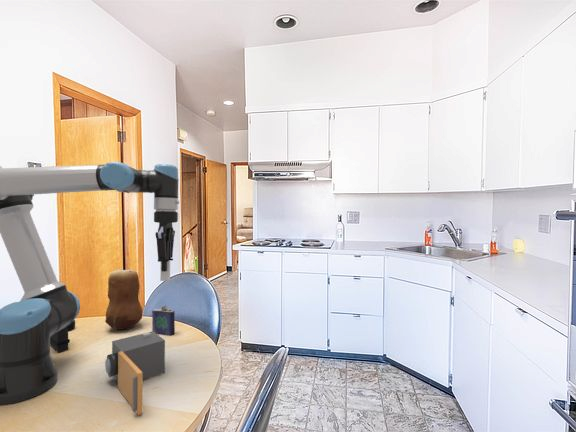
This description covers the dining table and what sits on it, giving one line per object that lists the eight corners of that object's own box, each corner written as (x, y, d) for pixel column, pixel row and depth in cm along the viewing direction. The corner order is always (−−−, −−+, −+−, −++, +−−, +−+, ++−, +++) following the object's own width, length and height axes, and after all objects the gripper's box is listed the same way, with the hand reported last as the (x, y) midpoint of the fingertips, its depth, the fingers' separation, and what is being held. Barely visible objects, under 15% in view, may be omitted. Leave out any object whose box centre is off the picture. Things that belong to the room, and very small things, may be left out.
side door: (114, 389, 85) (114, 352, 85) (121, 386, 86) (122, 350, 86) (134, 416, 73) (134, 375, 73) (142, 413, 75) (142, 372, 75)
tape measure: (65, 326, 133) (65, 317, 133) (79, 327, 131) (79, 319, 131) (50, 332, 126) (50, 323, 126) (65, 333, 125) (65, 324, 125)
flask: (150, 333, 125) (150, 305, 125) (155, 331, 128) (155, 303, 128) (172, 336, 123) (172, 307, 122) (176, 333, 126) (177, 305, 126)
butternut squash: (131, 320, 140) (131, 265, 140) (148, 326, 133) (148, 268, 132) (99, 329, 129) (99, 270, 128) (115, 337, 121) (115, 273, 121)
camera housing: (111, 391, 84) (112, 351, 84) (102, 376, 92) (102, 340, 92) (164, 372, 94) (164, 337, 94) (152, 361, 102) (152, 328, 102)
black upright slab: (59, 351, 105) (54, 307, 109) (50, 357, 113) (45, 316, 117) (72, 347, 108) (66, 305, 112) (62, 353, 115) (57, 313, 120)
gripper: (171, 210, 98) (170, 284, 98) (182, 211, 111) (181, 276, 111) (147, 210, 98) (146, 284, 98) (161, 210, 111) (160, 276, 111)
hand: (165, 280), depth 104 cm, fingers closed
